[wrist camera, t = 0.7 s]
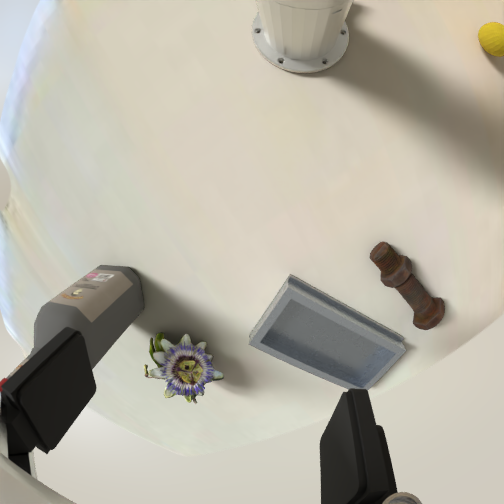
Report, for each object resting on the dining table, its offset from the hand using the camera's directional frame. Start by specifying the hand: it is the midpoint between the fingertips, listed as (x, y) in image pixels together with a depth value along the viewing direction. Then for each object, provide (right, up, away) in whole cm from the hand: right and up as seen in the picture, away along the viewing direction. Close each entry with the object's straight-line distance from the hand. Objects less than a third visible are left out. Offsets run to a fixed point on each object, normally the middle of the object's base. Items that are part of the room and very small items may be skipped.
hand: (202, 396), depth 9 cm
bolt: (+24, +1, +30) cm, 39 cm away
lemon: (+38, +37, +16) cm, 56 cm away
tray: (+14, -8, +34) cm, 38 cm away
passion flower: (-9, -13, +39) cm, 42 cm away
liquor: (-20, -1, +37) cm, 42 cm away
